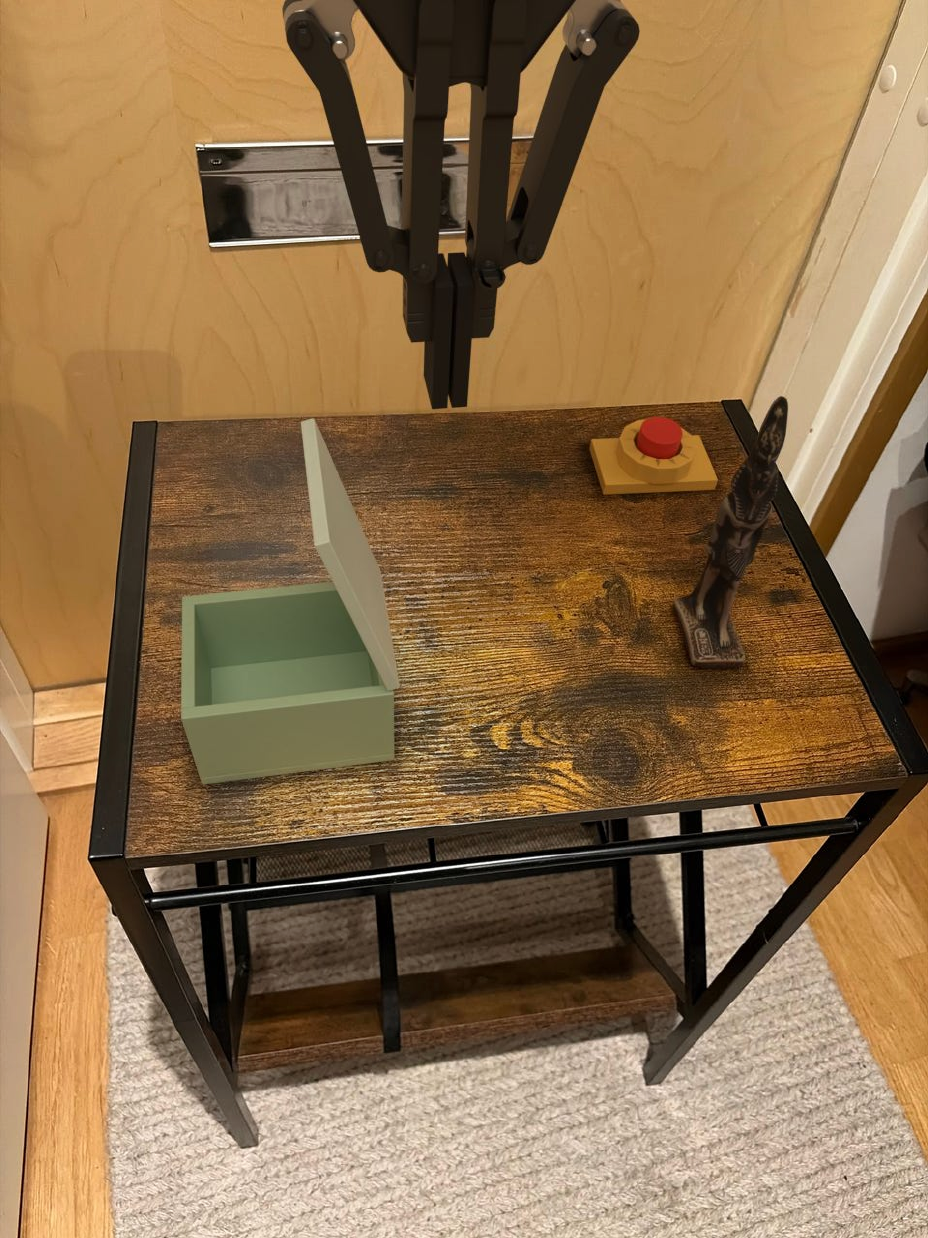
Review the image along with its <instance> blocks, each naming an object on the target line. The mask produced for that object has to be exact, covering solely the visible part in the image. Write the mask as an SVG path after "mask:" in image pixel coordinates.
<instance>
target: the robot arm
mask: <svg viewBox="0 0 928 1238" xmlns="http://www.w3.org/2000/svg"><path fill="white" fill-rule="evenodd" d="M357 11H359V12H360V13H361V15H362V16H363V18H364V19H365V21H366V22H367V24H368V25H369V27H370V29H371V30H372V32H373V33H374V34H375V36H376V37H377V38H378V40H379V42H380V43H381V45H382V46H383V48H384V49H385V50H386V52H387V54H388V55H389V57H390V58H391V60H392V61H393V63H394V64H395V66H396V67H397V69H398V70H399V71H400V72H401V73H402V87H403V124H402V125H403V131H402V132H403V135H402V183H401V185H402V186H401V187H402V188H401V189H402V190H401V191H402V192H401V198H402V199H401V228H398V227H395V226H392V225H389V224H388V223H387V219H386V218H387V217H386V215H385V210H384V207H383V203H382V199H381V194H380V191H379V187H378V181H377V179H376V174H375V170H374V166H373V162H372V159H371V155H370V151H369V147H368V143H367V138H366V134H365V130H364V126H363V123H362V118H361V115H360V111H359V107H358V106H359V105H358V102H357V98H356V95H355V89H354V87H353V83H352V79H351V75H350V71H349V67H348V64H347V61H346V60H348V59H349V58H351V56H352V55H353V53H354V52H355V47H356V38H355V34H354V31H353V26H352V22H353V18H354V15H355V14H356V13H357ZM565 16H566V19H565V21H564V24H563V27H562V32H561V33H562V40H563V41H564V46H563V48H562V51H561V52H560V55H559V57H558V60H557V63H556V64H555V67H554V71H553V74H552V77H551V80H550V84H549V87H548V90H547V92H546V96H545V98H544V102H543V106H542V109H541V112H540V115H539V117H538V121H537V124H536V127H535V130H534V133H533V136H532V139H531V143H530V146H529V149H528V152H527V155H526V158H525V161H524V164H523V168H522V171H521V173H520V177H519V180H518V183H517V186H516V189H515V193H514V196H513V198H512V201H511V205H510V208H509V210H508V201H509V199H508V198H509V186H510V175H511V160H512V148H513V137H514V136H513V135H514V124H515V123H514V122H515V117H516V116H517V115H518V112H519V100H520V89H521V77H522V73H523V72H524V70H526V69H527V67H528V66H529V65H530V63H532V61H533V60H534V58H535V57H536V55H537V54H538V53H539V51H540V50H541V48H542V47H543V46H544V44H545V43H546V42H547V40H548V39H549V38H550V36H551V35H552V34H553V32H554V31H555V29H556V28H557V27H558V26H559V24H560V23H561V21H562V20H563V19H564V17H565ZM282 19H283V26H284V32H285V38H286V43H287V45H288V47H289V49H290V51H291V52H292V54H293V56H294V57H295V59H296V60H297V62H298V63H299V64H300V66H301V67H302V69H303V70H304V72H305V74H306V75H307V76H308V78H309V79H310V81H311V82H312V84H313V85H314V86H315V88H316V90H317V91H318V92H319V96H320V101H321V104H322V106H323V110H324V115H325V117H326V118H325V119H326V121H327V125H328V128H329V133H330V134H331V139H332V143H333V146H334V149H335V154H336V157H337V160H338V164H339V168H340V172H341V176H342V179H343V182H344V185H345V189H346V193H347V196H348V197H347V198H348V199H349V200H348V201H349V203H350V207H351V211H352V214H353V215H352V216H353V218H354V222H355V226H356V229H357V233H358V237H359V239H360V243H361V247H362V251H363V254H364V258H365V261H366V264H367V266H368V268H369V269H370V270H372V271H373V272H376V273H385V272H388V271H392V272H395V273H398V274H399V275H400V276H402V319H403V323H404V326H405V327H404V328H405V331H406V334H407V336H408V339H409V341H410V343H411V344H413V343H424V345H423V347H424V348H423V379H424V382H425V387H426V390H427V395H428V398H429V402H430V407H431V409H432V410H443V409H448V407H449V406H448V405H449V403H450V407H451V409H457V408H468V398H469V387H470V385H469V384H470V373H471V372H470V369H471V357H472V341H473V340H472V339H488V338H490V336H491V334H492V332H493V330H494V328H495V321H496V320H495V319H496V308H497V299H498V289H499V288H501V287H502V286H503V285H504V283H505V281H506V278H507V275H506V274H505V270H506V269H508V268H510V267H511V266H514V265H517V264H519V263H521V264H523V265H526V266H532V265H535V264H537V263H538V262H539V261H541V260H542V258H543V257H544V256H545V252H546V250H547V247H548V244H549V241H550V239H551V236H552V233H553V230H554V228H555V224H556V222H557V219H558V217H559V214H560V211H561V208H562V205H563V203H564V200H565V197H566V194H567V191H568V189H569V186H570V183H571V181H572V178H573V176H574V172H575V170H576V167H577V164H578V161H579V159H580V156H581V153H582V150H583V148H584V145H585V143H586V139H587V136H588V134H589V131H590V128H591V125H592V123H593V120H594V117H595V115H596V112H597V109H598V106H599V103H600V101H601V98H602V95H603V93H604V90H605V87H606V85H607V84H608V82H609V81H610V80H611V79H612V77H613V76H614V74H615V73H616V72H617V70H618V69H619V67H620V66H621V65H622V64H623V62H624V61H625V60H626V58H627V57H628V55H629V54H630V52H631V51H632V50H633V48H635V46H636V44H637V42H638V41H639V37H640V31H641V30H640V25H639V23H638V22H637V20H636V19H635V18H634V15H632V14H631V12H630V10H628V8H627V7H626V6H625V4H624V3H623V2H622V1H621V0H284V2H283V5H282ZM464 83H466V84H469V86H470V107H469V108H470V110H469V134H468V135H469V136H468V154H467V180H466V182H467V183H466V199H465V200H466V203H465V225H464V227H465V228H464V243H465V244H464V245H465V248H466V250H465V251H466V253H465V251H462V252H461V251H460V252H447V261H446V258H445V254H444V253H443V252H440V253H439V246H440V245H439V244H440V243H439V242H440V225H441V224H440V223H441V204H442V186H443V166H444V165H443V164H444V163H443V162H444V144H445V126H446V125H445V123H446V119H447V118H448V113H449V99H450V98H449V97H450V88H451V87H454V86H457V85H460V84H464ZM507 212H508V213H507Z"/></svg>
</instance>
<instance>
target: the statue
mask: <svg viewBox="0 0 928 1238" xmlns="http://www.w3.org/2000/svg"><path fill="white" fill-rule="evenodd" d="M788 413H789V402H788V399H787V398H786V397H785V396H783V395H780V396H778V397H777V398H776V399H774V401H773V402H772V403H771V404H770V407H769V408H768V411H767V412H766V414H765V416H764V418H763V421H762V422H761V425H760V428H759V430H758V433H757V437H756V440H755V442H754V445H753V446H752V448H751V450H750V452H749V454H748V456H747V457H746V459H745V460H744V461H743V462H742V464H741V465H740V466H739V467H738V468H737V470H736V471H735V473H734V475H733V477H732V479H731V483H730V489H731V491H730V492H729V493H728V494H726V496H725V497H724V498H723V500H722V501H721V503H720V505H719V507H718V509H717V513H716V516H715V519H714V522H713V526H712V529H711V533H710V535H709V539H708V540H707V543H706V545H705V553H706V555H707V559H706V561H705V565H704V568H703V570H702V572H701V574H700V576H699V578H698V580H697V583H696V585H695V587H694V589H693V591H692V592H691V593H689V594H686V595H683V596H679V597H675V599H673V601H672V609H673V612H674V615H675V617H676V619H677V621H678V625H679V628H680V631H681V634H682V637H683V641H684V644H685V648H686V650H687V654H688V657H689V661H690V663H691V665H692V666H694V667H695V668H703V669H738V668H740V667H742V666H744V665H745V663H746V653H745V651H744V648H743V645H742V643H741V641H740V638H739V635H738V632H737V630H736V627H735V624H734V622H733V618H732V616H731V610H732V607H733V603H734V600H735V597H736V594H737V591H738V588H739V586H740V584H741V582H742V580H743V579H744V576H745V572H746V570H747V567H748V566H749V565H751V564H752V563H753V562H754V560H755V558H756V549H757V547H758V545H759V544H760V542H761V539H762V538H763V536H764V532H765V529H766V528H767V525H768V523H769V522H770V520H771V517H772V513H773V505H772V503H771V502H772V500H773V499H774V498H775V496H776V495H777V492H778V487H779V466H778V464H777V461H778V459H779V457H780V454H781V452H782V449H783V448H784V444H785V439H786V435H787V427H788V416H789V415H788Z"/></svg>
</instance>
